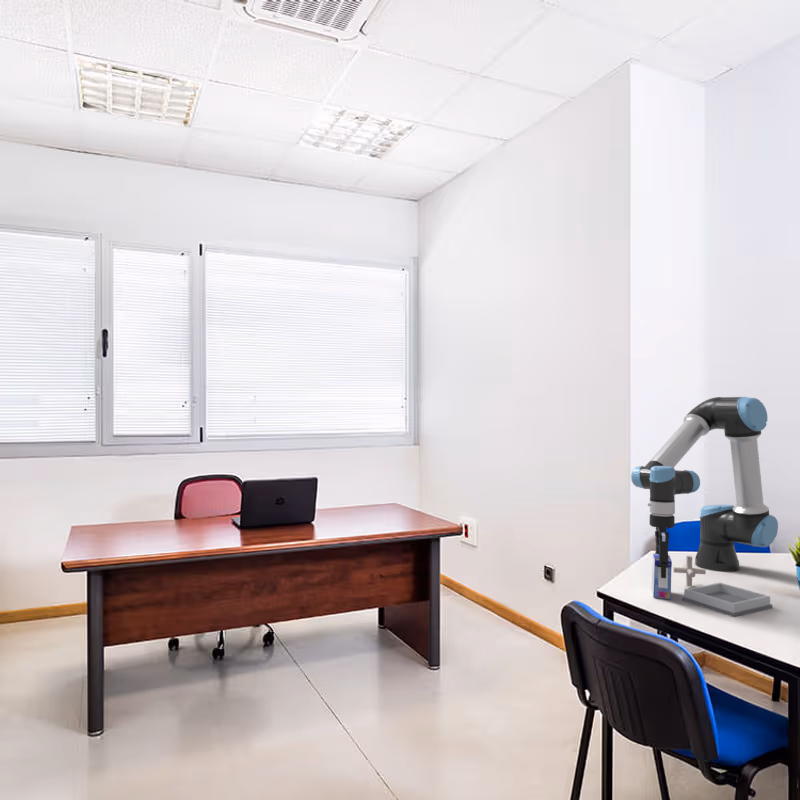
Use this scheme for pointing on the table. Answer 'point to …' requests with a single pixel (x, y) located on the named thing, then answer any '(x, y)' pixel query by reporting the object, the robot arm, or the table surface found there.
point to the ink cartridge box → (657, 591)
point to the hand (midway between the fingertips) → (661, 583)
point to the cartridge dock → (727, 599)
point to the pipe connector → (689, 570)
